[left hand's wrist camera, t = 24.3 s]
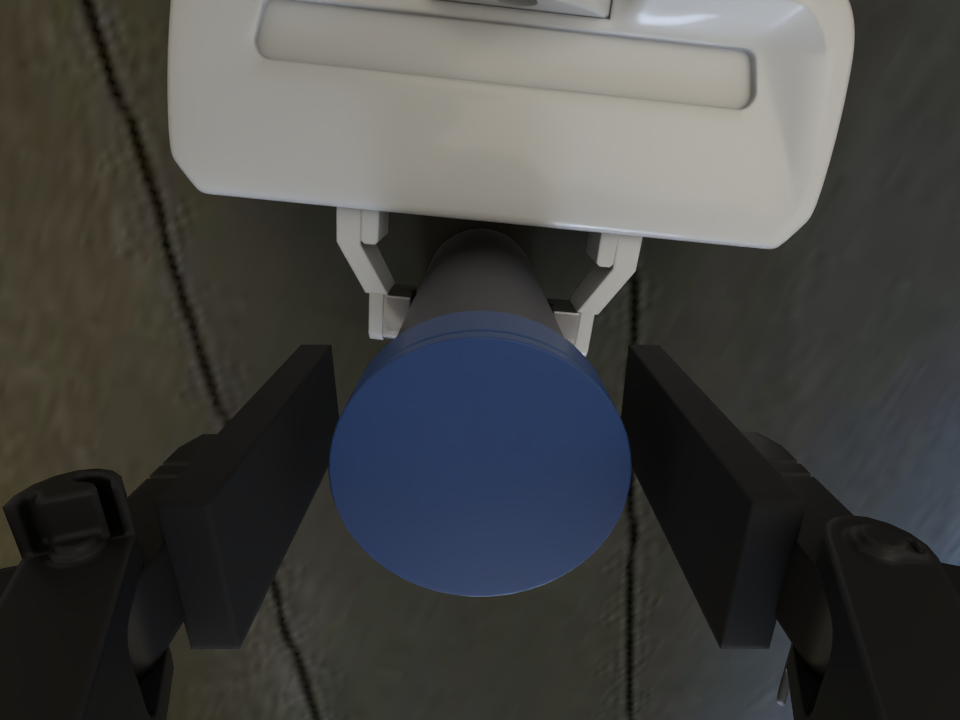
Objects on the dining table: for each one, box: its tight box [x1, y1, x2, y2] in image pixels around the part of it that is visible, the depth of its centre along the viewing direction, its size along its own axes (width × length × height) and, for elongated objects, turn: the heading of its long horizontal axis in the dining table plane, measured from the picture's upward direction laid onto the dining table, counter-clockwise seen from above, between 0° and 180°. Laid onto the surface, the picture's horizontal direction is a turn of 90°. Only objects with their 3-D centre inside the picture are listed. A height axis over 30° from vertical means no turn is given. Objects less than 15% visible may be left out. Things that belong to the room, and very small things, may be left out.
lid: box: [329, 311, 632, 597], centre depth 11 cm, size 6×6×2 cm
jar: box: [397, 228, 564, 337], centre depth 19 cm, size 5×5×16 cm
